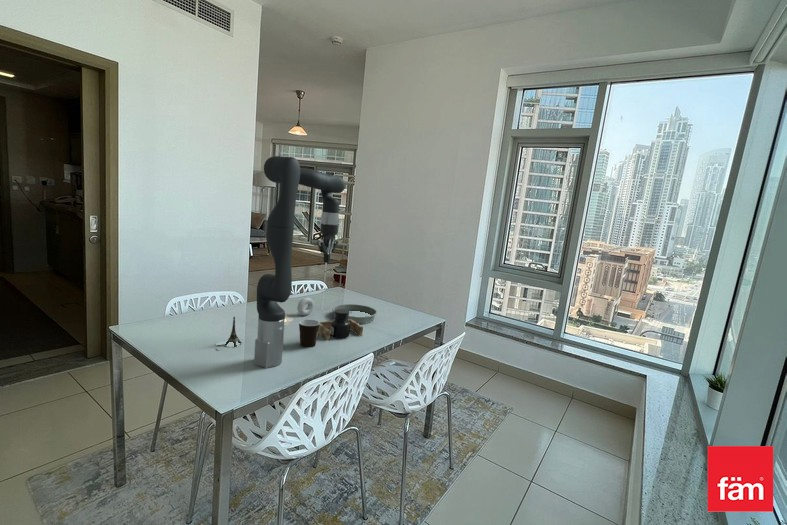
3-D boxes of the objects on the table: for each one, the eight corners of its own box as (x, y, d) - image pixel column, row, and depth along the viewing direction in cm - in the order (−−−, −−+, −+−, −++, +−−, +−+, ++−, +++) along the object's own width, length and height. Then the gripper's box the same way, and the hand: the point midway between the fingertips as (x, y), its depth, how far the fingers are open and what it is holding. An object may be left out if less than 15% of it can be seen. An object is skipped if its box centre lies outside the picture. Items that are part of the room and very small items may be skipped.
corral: (362, 335, 178) (363, 326, 178) (326, 340, 168) (327, 330, 167) (350, 327, 188) (350, 318, 187) (315, 331, 178) (316, 322, 177)
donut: (299, 317, 195) (300, 299, 193) (295, 316, 197) (296, 297, 195) (314, 314, 202) (316, 297, 201) (310, 313, 204) (312, 295, 203)
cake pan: (370, 311, 221) (370, 303, 220) (382, 325, 198) (382, 317, 197) (328, 311, 213) (329, 303, 212) (335, 325, 190) (336, 316, 189)
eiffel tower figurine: (246, 338, 162) (248, 308, 160) (255, 346, 155) (257, 315, 153) (209, 344, 152) (210, 312, 150) (217, 353, 145) (218, 319, 143)
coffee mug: (313, 350, 155) (314, 327, 154) (293, 346, 157) (295, 323, 156) (323, 341, 167) (325, 319, 165) (305, 337, 168) (307, 316, 167)
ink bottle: (334, 331, 181) (336, 307, 179) (352, 334, 179) (354, 310, 177) (326, 337, 172) (328, 312, 170) (344, 340, 170) (347, 315, 168)
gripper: (331, 222, 169) (328, 260, 171) (313, 222, 157) (310, 262, 159) (345, 224, 166) (341, 262, 168) (327, 224, 154) (324, 265, 156)
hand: (326, 262), depth 164 cm, fingers closed
